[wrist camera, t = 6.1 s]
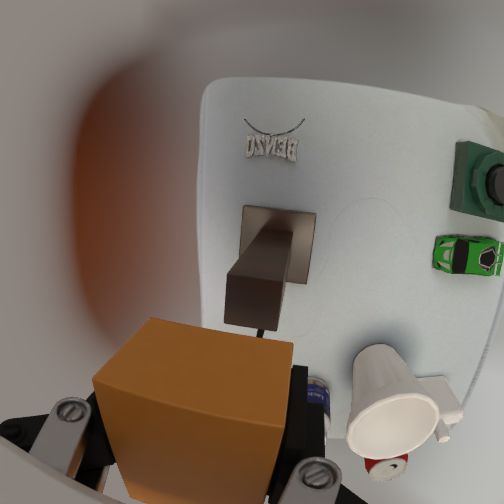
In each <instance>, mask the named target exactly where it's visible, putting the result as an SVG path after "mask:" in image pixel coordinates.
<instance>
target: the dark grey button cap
mask: <svg viewBox="0 0 504 504" xmlns="http://www.w3.org/2000/svg"><path fill="white" fill-rule="evenodd" d="M486 190H487V193H488V195H489V197H490V198H491V199H492V200H493V201H494V202H496V203H501V204H504V167H503V166H496V167H493V168H492V169H491V170H490V171H489V172H488V174H487V177H486Z"/></svg>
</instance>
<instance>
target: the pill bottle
mask: <svg viewBox="0 0 504 504" xmlns="http://www.w3.org/2000/svg"><path fill="white" fill-rule="evenodd" d="M307 401H308V402H318V403H323V404H324V421H325V445H326V441H327V433H328V431H329V429H330V424H331V421H330V393H329V389H328V386H327V385H326V384H325V383H324V382H323V381H321V380H319V379H317V378H312V377H308V393H307Z"/></svg>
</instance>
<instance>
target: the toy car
mask: <svg viewBox="0 0 504 504" xmlns="http://www.w3.org/2000/svg"><path fill="white" fill-rule="evenodd" d="M464 236H465V235H456V236H448V237H447V236H440V237H437V238H436V243H435V245H436V247H435V249H434V260H433V268H435V269H437V270H443V271H444V272H447V273H451V274H474V275H482V276H491V275H494V270H495V264H496V263H497V262H496V260H497V256H499V260H498V266H497V271H496V275H495V276H500V275H499V274H500V270H501V266H502V261H503V255H504V242H500V243H501V248H500V254H499V255H498V254H497V252H498V246H499V241H496V240H493V239H491V238H482V236H476V237H474V238H467V237H464ZM449 264H450V265H449Z"/></svg>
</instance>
